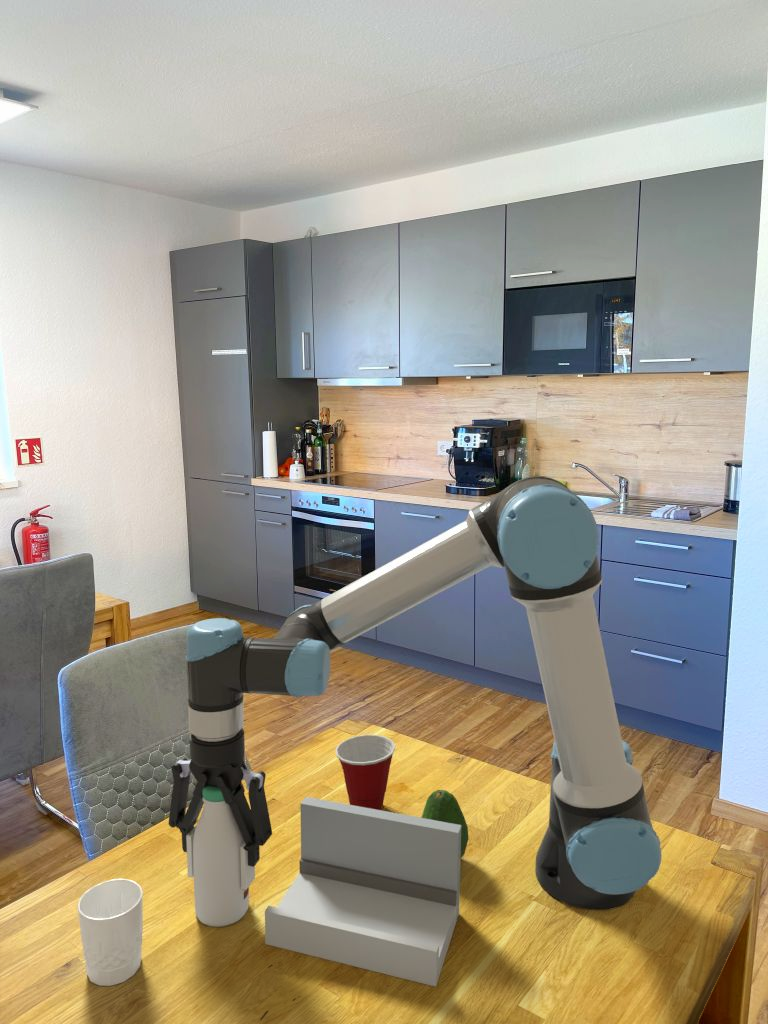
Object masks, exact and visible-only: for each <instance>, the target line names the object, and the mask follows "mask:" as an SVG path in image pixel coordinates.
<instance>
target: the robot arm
mask: <svg viewBox="0 0 768 1024" xmlns="http://www.w3.org/2000/svg"><path fill="white" fill-rule="evenodd" d="M598 529H599V528H598V525H597V522H596V519H595V516H594V514H593V512H592V511H591V508H590V507H589V506H588V505H587V504H586V502H584V500H583V499H582V498H581V497H580V496H578V495H577V494H576V493H574V492H573V491H572V490H571V489H570V488H569V487H567V486H566V485H565V484H563V483H562V482H560V481H559V480H556V479H554V478H552V477H549V476H548V477H547V476H542V475H541V476H539V475H537V476H536V475H533V476H528V477H527V476H526V477H524V478H522V479H519V480H517V481H514V482H513V483H511V484H509V485H508V486H507V487H505V488H504V489H502V490H500V491H499V492H498V493H496V494H495V495H493V496H492V497H490V498H489V499H486V500H485V501H483V502H482V503H480V504H479V505H478V504H477V506H475V507H473V508H471V509H469V511H468V513H467V517H466V519H465V520H464V521H462V522H459V524H457V525H455V526H453V527H451V528H450V529H448V530H446V531H443V532H442V533H440V534H439V535H436V536H435V537H433V538H431V539H429V540H428V541H425V542H424V543H422V544H420V545H418V546H416V547H414V548H413V549H411V550H409V551H407V552H405V553H404V554H402V555H400V556H398V557H396V558H395V559H392V560H391V561H389V562H388V563H386V564H384V565H382V566H380V567H378V568H376V569H375V570H373V571H372V572H369V573H368V574H366V575H363V576H362V577H360V578H358V579H356V580H355V581H353V582H351V583H349V584H347V585H346V586H344V587H342V588H341V589H338V590H337V591H334V592H333V593H331V594H329V595H327V596H326V597H324V598H322V599H320V600H318V601H316V602H314V603H312V604H305V605H301V606H299V607H298V608H297V609H295V610H294V611H292V612H291V613H290V614H289V615H288V616H287V618H286V619H285V621H284V624H283V625H282V626H281V627H280V628H279V630H278V632H276V634H275V636H274V637H272V638H269V637H268V638H266V637H263V638H259V637H258V638H256V637H250V636H249V637H248V636H244V632H243V629H242V625H241V624H240V622H238V621H237V620H235V619H229V618H224V617H223V618H222V617H217V618H209V619H208V618H207V619H204V620H200V621H197V622H195V623H193V624H192V625H191V626H190V627H189V628H188V630H187V632H186V650H185V651H186V654H185V658H184V659H185V663H186V679H187V683H186V684H187V702H188V703H187V706H188V707H187V708H188V709H187V711H188V713H187V714H188V731H189V738H188V739H189V757H190V760H188V758H186V757H185V756H183V757H182V758H180V759H179V760H178V761H176V762H175V763H174V764H173V765H172V766H171V773H172V779H173V783H172V793H171V800H170V809H169V816H168V825H169V827H170V828H177V829H179V832H180V833H181V842H182V843H181V848H182V851H183V853H186V862H187V877H188V878H193V879H194V869H193V839H194V833H195V829H196V826H197V823H198V821H199V819H198V818H199V816H200V815H201V813H202V810H203V807H204V802H203V800H202V797H203V796H202V792H203V789H204V787H205V786H212V787H217V788H219V789H220V790H221V792H222V795H223V798H224V800H225V802H226V804H229V806H230V808H231V811H232V813H233V815H234V818H235V820H236V823H237V825H238V827H239V830H240V832H241V835H242V837H243V840H244V843H243V844H242V846H241V847H240V856H241V889H244V890H247V888H248V887H249V888H250V886H251V884H253V882H254V881H255V879H256V865H257V864H258V863H259V861H260V852H261V851H260V847H262V846H265V844H266V843H267V841H268V840H269V839H270V837H271V836H273V830H272V824H271V818H270V813H269V808H268V802H267V796H266V792H265V791H266V790H265V782H266V781H265V780H266V776H267V775H266V773H265V771H263V770H259V771H258V772H253V771H251V770H248V768H247V766H246V763H245V753H246V751H245V749H246V746H245V729H244V725H245V720H244V719H245V716H244V715H245V714H244V713H245V712H244V694H260V695H275V696H277V695H278V696H286V697H287V696H290V697H291V696H292V697H295V698H302V697H319V696H321V695H323V694H324V693H326V691H327V689H328V686H329V681H330V678H331V677H330V676H331V659H332V658H331V651H333V650H336V649H337V648H339V647H341V646H342V645H344V644H346V643H348V642H349V641H352V640H354V639H356V638H357V637H360V636H361V635H363V634H364V633H366V632H369V631H370V630H372V629H374V628H376V627H378V626H380V625H382V624H384V623H385V622H386V623H387V622H388V621H389V620H390V619H393V618H395V617H397V616H399V615H401V614H402V613H404V612H406V611H408V610H409V609H412V608H415V606H418V605H419V604H421V603H423V602H425V601H427V600H428V599H431V598H432V597H434V596H436V595H439V594H440V593H443V592H444V591H446V590H448V589H449V588H452V587H453V586H455V585H457V584H459V583H460V582H462V581H464V580H465V581H466V579H469V578H470V577H472V576H474V575H476V574H478V573H479V572H482V571H483V570H485V569H487V568H489V567H496V568H500V569H502V568H504V569H505V574H506V578H507V582H508V587H509V592H510V595H511V598H512V599H513V600H514V601H516V602H518V603H519V604H520V605H522V606H524V607H525V610H526V615H527V619H528V624H529V629H530V633H531V638H532V642H533V648H534V653H535V658H536V662H537V666H538V671H539V674H540V679H541V683H542V688H543V693H544V699H545V702H546V707H547V712H548V717H549V722H550V726H551V727H550V728H551V730H552V731H551V732H552V735H553V736H552V737H553V740H554V741H553V745H552V750H551V751H552V752H551V753H550V758H551V770H550V772H551V774H550V794H549V795H550V796H549V810H548V811H549V812H548V813H549V814H548V815H549V817H548V818H549V819H548V826H547V828H546V831H545V833H544V835H543V837H542V839H541V843H540V844H539V847H538V850H537V852H536V856H535V871H534V872H535V877H536V880H537V881H538V883H539V885H540V886H541V887H542V888H543V889H544V891H546V892H547V893H548V894H549V895H550V896H552V897H553V898H555V899H557V900H558V901H561V902H562V903H565V904H567V905H570V906H572V907H575V908H580V909H584V910H591V911H592V910H594V911H606V910H612V909H616V908H620V907H622V906H623V905H625V904H627V903H628V902H629V901H630V900H631V899H632V898H633V897H634V895H635V892H636V891H637V890H640V889H642V888H643V887H645V886H646V885H648V884H649V881H650V880H652V879H653V878H654V877H655V876H656V875H657V873H658V871H660V866H661V864H662V848H661V841H660V840H661V839H660V837H659V836H658V835H657V832H656V831H655V829H654V826H653V823H652V820H651V817H650V813H649V807H648V806H649V805H648V802H647V798H646V792H645V787H644V784H643V782H644V781H643V778H642V775H641V773H640V771H639V770H638V769H637V768H636V767H635V766H633V763H634V759H633V750H632V748H631V747H630V745H629V744H628V743H627V742H626V741H624V740H623V739H622V735H621V733H622V732H621V730H620V729H621V728H620V724H619V719H618V714H617V709H616V704H615V699H614V694H613V689H612V684H611V680H610V674H609V670H608V665H607V660H606V654H605V651H604V650H605V649H604V646H603V640H602V635H601V630H600V625H599V621H598V620H599V619H598V615H597V610H596V606H595V600H594V597H593V596H594V594H595V592H596V591H597V590H598V588H599V587H600V585H601V584H602V583H603V579H602V578H603V577H602V572H601V567H600V563H599V557H598V549H599V548H598V547H599V530H598ZM191 774H192V775H193V777H194V778H195V780H196V784H195V787H194V790H193V792H192V797H191V800H190V803H189V804H188V807H187V803H188V796H189V795H188V794H189V788H190V787H189V786H190V779H191ZM243 780H244V781H245V784H246V786H245V787H244V783H243V782H242V781H243ZM234 790H235V792H234V793H233V794H232V792H233V791H234ZM245 790H248V791H247V792H248V794H247V795H248V800H247V797H246V795H245ZM248 801H249V802H248Z"/></svg>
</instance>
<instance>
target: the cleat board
mask: <svg viewBox="0 0 768 1024" xmlns="http://www.w3.org/2000/svg"><path fill="white" fill-rule="evenodd" d="M299 807H300V859H299V864H298V865H299V873H298V874H297V876H296V878H295V879H294V880H293V882H292V884H291V885H290V887H289V888H288V890H287V891H286V892H285V894H284V895H283V897H282V899H281V900H280V901H279V903H278V904H277V906H273V905H268V906H267V907H266V908H265V910H264V934H265V935H264V937H265V939H264V943H265V944H264V945H269V946H272V947H275V948H279V949H284V950H288V951H291V952H295V953H299V954H304V955H307V956H312V957H315V958H319V959H324V960H327V961H331V962H336V963H339V964H344V965H347V966H348V965H349V966H351V967H356V968H360V969H362V970H363V969H364V970H368V971H372V972H376V973H379V974H384V975H388V976H391V977H396V978H400V979H402V980H407V981H411V982H416V983H420V984H423V985H427V986H431V987H435V988H436V987H437V984H438V982H439V978H440V975H441V971H442V969H443V966H444V963H445V959H446V956H447V953H448V949H449V946H450V943H451V939H452V937H453V934H454V931H455V926H456V924H457V921H458V917H459V916H460V895H461V894H460V890H461V889H460V888H461V887H460V886H461V883H460V882H461V859H462V858H461V825H458V824H452V823H447V822H441V821H436V820H431V819H425V818H422V817H419V816H418V817H417V816H415V815H408V814H402V813H395V812H392V811H386V810H382V809H381V810H376V809H371V808H365V807H360V806H354V805H350V803H344V802H338V801H337V802H336V801H331V800H325V799H320V798H316V797H309V796H305V797H304V798H303V800H302V801H300V806H299ZM460 858H461V859H460Z"/></svg>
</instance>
